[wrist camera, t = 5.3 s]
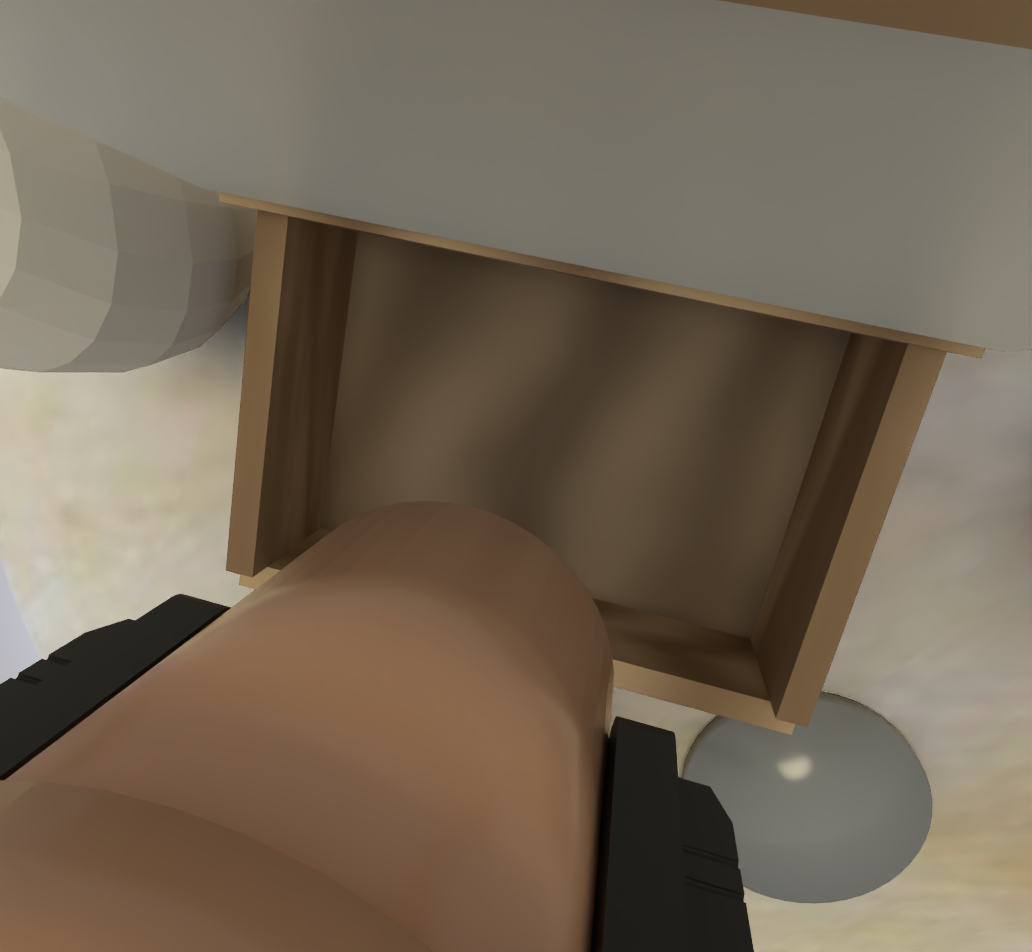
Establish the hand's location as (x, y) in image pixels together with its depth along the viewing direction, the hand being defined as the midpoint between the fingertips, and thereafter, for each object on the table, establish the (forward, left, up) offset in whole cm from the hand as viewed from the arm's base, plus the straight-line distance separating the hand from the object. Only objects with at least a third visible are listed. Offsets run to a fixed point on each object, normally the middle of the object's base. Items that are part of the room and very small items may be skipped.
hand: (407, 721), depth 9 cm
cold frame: (0, 0, -19) cm, 19 cm away
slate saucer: (-13, +13, -19) cm, 26 cm away
